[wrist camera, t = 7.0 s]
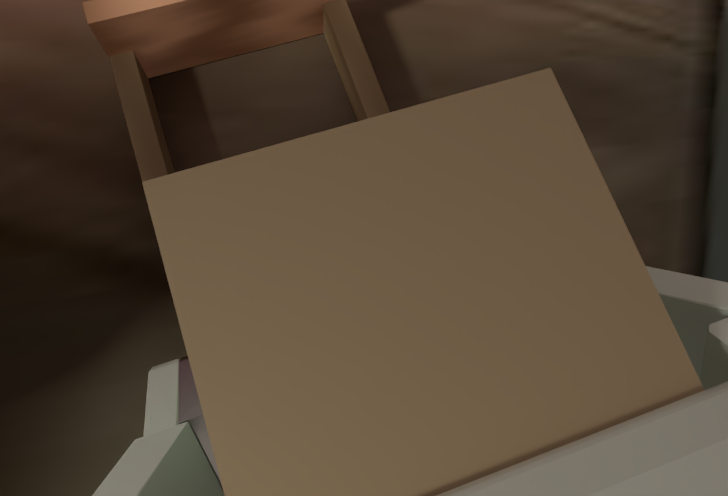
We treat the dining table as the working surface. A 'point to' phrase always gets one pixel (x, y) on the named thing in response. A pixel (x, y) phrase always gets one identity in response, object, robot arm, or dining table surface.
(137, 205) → the dining table surface
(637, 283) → the cream tall block
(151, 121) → the bay
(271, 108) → the dining table surface
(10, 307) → the dining table surface
